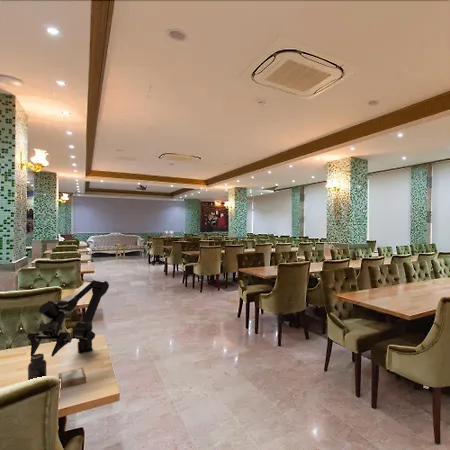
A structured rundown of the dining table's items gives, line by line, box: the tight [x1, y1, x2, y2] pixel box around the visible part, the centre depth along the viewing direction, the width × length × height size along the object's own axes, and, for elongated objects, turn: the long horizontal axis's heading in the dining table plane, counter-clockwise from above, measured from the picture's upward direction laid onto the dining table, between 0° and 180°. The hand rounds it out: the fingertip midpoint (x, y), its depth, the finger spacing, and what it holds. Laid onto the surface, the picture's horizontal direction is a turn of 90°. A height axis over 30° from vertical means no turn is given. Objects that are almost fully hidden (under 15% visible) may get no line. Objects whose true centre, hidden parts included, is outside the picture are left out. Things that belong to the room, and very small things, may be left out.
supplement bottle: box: [27, 353, 48, 381], centre depth 128 cm, size 7×7×12 cm
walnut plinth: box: [58, 367, 87, 390], centre depth 130 cm, size 10×10×3 cm
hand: (41, 356), depth 131 cm, fingers open, 9 cm apart
